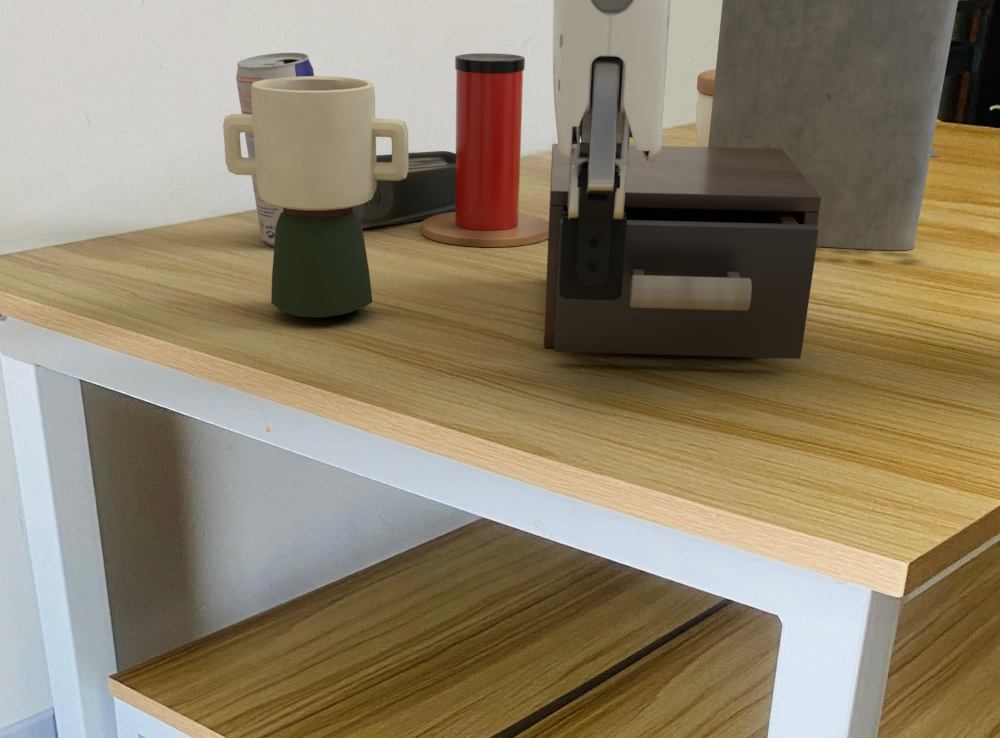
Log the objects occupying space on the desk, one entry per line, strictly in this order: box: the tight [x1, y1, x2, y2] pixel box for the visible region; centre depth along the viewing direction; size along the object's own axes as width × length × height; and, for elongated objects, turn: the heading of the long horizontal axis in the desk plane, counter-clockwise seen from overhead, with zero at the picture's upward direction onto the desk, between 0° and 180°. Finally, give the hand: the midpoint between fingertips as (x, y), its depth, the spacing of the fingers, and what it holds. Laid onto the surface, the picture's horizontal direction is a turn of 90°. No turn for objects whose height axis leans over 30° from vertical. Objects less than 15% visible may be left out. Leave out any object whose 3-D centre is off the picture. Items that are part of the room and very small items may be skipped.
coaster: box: [420, 212, 549, 248], centre depth 104 cm, size 10×10×1 cm
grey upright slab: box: [708, 0, 959, 251], centre depth 98 cm, size 16×4×20 cm, turn 72°
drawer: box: [554, 208, 819, 360], centre depth 77 cm, size 19×13×7 cm
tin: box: [454, 52, 526, 231], centre depth 101 cm, size 5×5×12 cm
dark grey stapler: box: [353, 150, 456, 230], centre depth 105 cm, size 5×3×15 cm
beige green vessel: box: [222, 75, 409, 319], centre depth 81 cm, size 11×7×13 cm, turn 82°
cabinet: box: [543, 143, 821, 349], centre depth 83 cm, size 16×15×9 cm
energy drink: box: [235, 52, 315, 247], centre depth 97 cm, size 5×5×12 cm
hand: (589, 294), depth 71 cm, fingers closed
